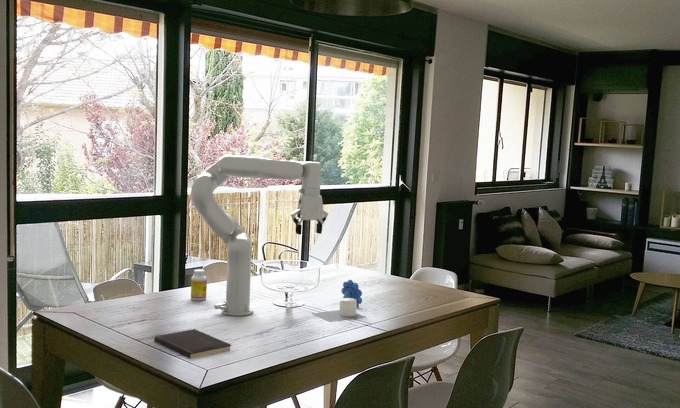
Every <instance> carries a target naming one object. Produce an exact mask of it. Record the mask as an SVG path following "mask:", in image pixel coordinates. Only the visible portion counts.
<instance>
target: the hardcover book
mask: <svg viewBox="0 0 680 408" xmlns="http://www.w3.org/2000/svg"><path fill="white" fill-rule="evenodd" d="M153 342H155V343H157V344H159V345H161V346H163V347H166V349H167V348H168V349H169V350H171V351H173V352H176V353H178V354H180V355H182V356H184V357H186V358H188V359H194V358H198V357H203V356H207V355H212V354H217V353H221V352H225V351H230V349H231V346H233V345H232V344H231V343H229V342H226V341H223V340H221V339H219V338H216V337H214V336H212V335H209V334H208V333H205V332H203V331H201V330H198V329H196V328H193V329H188V330H182V331H177V332H176V331H175V332H171V333H166V334H160V335H155V336H154V339H153Z"/></svg>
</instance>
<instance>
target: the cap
mask: <svg viewBox="0 0 680 408" xmlns="http://www.w3.org/2000/svg"><path fill="white" fill-rule="evenodd" d="M357 308H358V307H357V302H356V299H353V298H343V297H342V298H341V299H340V301H339V310H340V313H339V314H340V315H342V316H355V315H356V313H357Z"/></svg>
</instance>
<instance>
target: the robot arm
mask: <svg viewBox="0 0 680 408" xmlns="http://www.w3.org/2000/svg"><path fill="white" fill-rule="evenodd" d="M321 174H322V165H321V163H320V162H318V161H299V160H293V159H291V160H282V159H272V158H271V159H270V158H265V157H261V156H249V155H235V154H234V155H233V154H223V155H222V156H221V157H220V158H219V159H218V160H216V162H214V163H212V165H211V166H209V167H208V168H207V169H205V170H204V171H203V172H202V173H201V174H199V175H198V176H197V177H196V178H195V180H194V181H193V184H192V186H191V190H190V198H191V202H192V205H193V206H194V208H195V210H196V211H197V212H198V213H199V215H200V216H201V218H202V219H203V221H204V222H205V223H206V224H207V226H208V227H209V228H210V229H211V231H212V233H213V234H214V235H215V236H217V237H218V238H220V239H221V240H222V241H223V243H224V244H225V245H226V247H227V252H226V253H227V257H226V260H227V261H226V263H227V264H226V267H227V268H226V291H225V294H226V295H225V300H223V302H222V303H217V304H216V303H215V304H214V305H213V306H214V309H215V310H220V311H221V313H222V314H224V315H226V316H233V317H236V316H237V317H243V316H249V315H251V314H253V313H254V309H253V308H252V307H250V304H251V303H250V301H251V299H250V298H251V280H252V279H251V275H252V273H251V272H252V271H251V270H252V269H251V268H252V253H253V245H252V240H251V237H250V236H249V234H247V233H246V231H245V230H244V228H243V227H242V226H241V225H240V224H239V222H238V221H237V220H236V219H235V218H234V216H233V215H232V214H230V213H229V212H228V213H227V212H226V211H225V209H223V207H221V205H220V204H219V202H218V201H217V200H216V199H215V197H214V194H213V193H214V191H216V189H217V188H218V187H220V186H221V185H222V184H223V183H225V182H226V181H227V180H228V179H229V178H231V177H234V178H236V177H237V178H250V179H251V178H253V179H274V180H275V179H276V180H290V181H291V180H292V181H295V180H298V179H301V187H300V188H299V189H298V193H300V194H299V198H298V201H297V202H298V203H297V209H296V210H294V211H292V212H291V213H290V214H289V215H290V217H291V219H292V221H293V223H294V224H295V234H296V235H301V234H302V229H303V228H302V226H303V225H302V222H303V221H316V222H317V223H316V227H315V231H316V233H317V234H322V231H323V225H324V223H325V221H326V220H327V218H328V215H329V212H327V211H325V210H324V206H323V205H324V201H323V197H322V195H321V178H322V175H321Z"/></svg>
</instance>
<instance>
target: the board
mask: <svg viewBox="0 0 680 408" xmlns="http://www.w3.org/2000/svg"><path fill="white" fill-rule="evenodd" d="M339 313H340V309H339V310H328V311H321V312H320V311H319V312H312V313H310V315H313V316H316V317H317V318H320V319H322V320H324V321H326V322H329V323H332V322H340V321H341V322H342V321H348V320H357V319H364V318H367V316H365V315H362V314H360V313H358V312H356V315H355V316H342V315H340V314H339Z"/></svg>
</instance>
